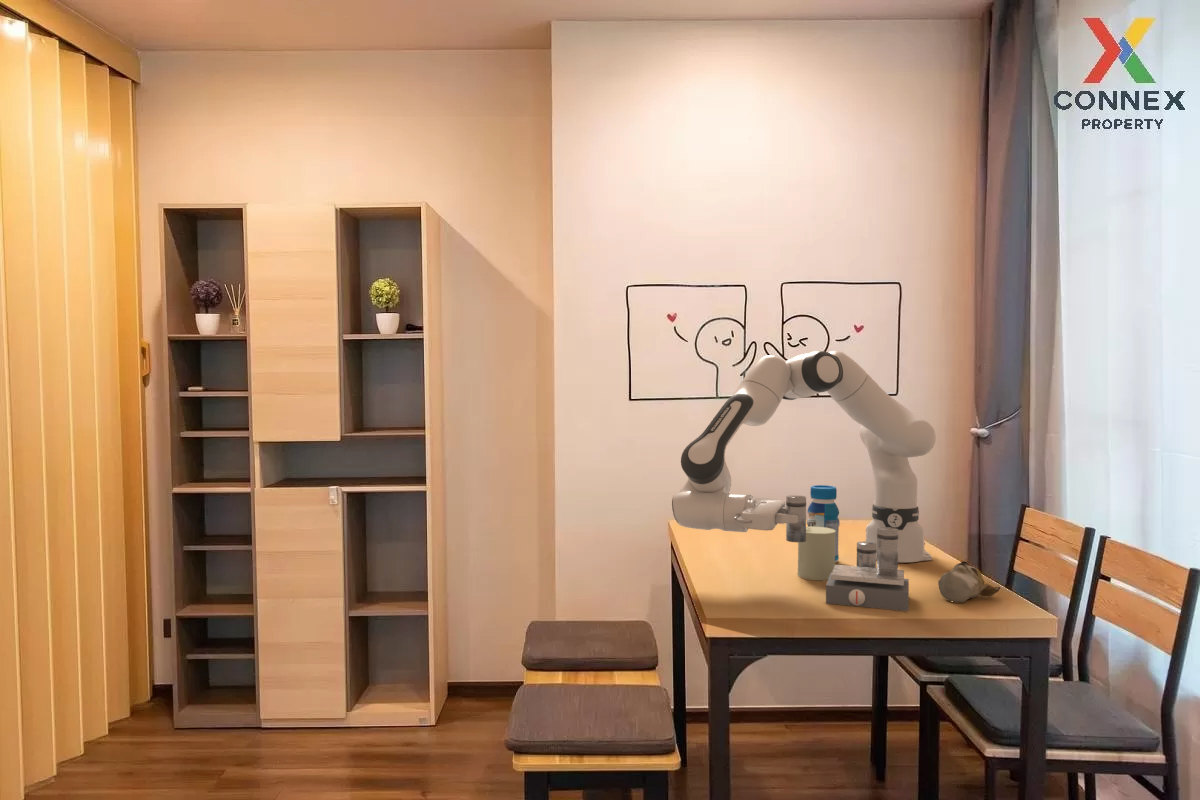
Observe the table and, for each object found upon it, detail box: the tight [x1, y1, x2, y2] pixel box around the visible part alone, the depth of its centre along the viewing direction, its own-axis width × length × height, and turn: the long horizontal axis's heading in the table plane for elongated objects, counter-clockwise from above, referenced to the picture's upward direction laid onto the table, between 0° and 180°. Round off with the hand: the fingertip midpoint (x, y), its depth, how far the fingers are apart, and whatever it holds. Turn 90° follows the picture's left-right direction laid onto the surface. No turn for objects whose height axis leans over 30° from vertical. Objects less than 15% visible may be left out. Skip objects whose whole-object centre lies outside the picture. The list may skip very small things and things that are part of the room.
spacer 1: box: [785, 495, 807, 543], centre depth 188 cm, size 4×4×10 cm
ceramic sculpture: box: [937, 560, 1001, 603], centre depth 185 cm, size 11×9×15 cm
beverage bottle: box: [806, 484, 841, 564], centre depth 220 cm, size 8×8×20 cm
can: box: [796, 526, 836, 581], centre depth 204 cm, size 9×9×12 cm
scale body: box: [825, 573, 910, 612], centre depth 183 cm, size 12×17×4 cm
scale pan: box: [831, 564, 905, 585], centre depth 183 cm, size 10×15×1 cm, turn 70°
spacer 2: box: [856, 541, 877, 568], centre depth 196 cm, size 4×4×10 cm
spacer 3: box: [876, 527, 899, 576], centre depth 181 cm, size 4×4×10 cm
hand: (800, 516), depth 188 cm, fingers closed on spacer 1, 4 cm apart
